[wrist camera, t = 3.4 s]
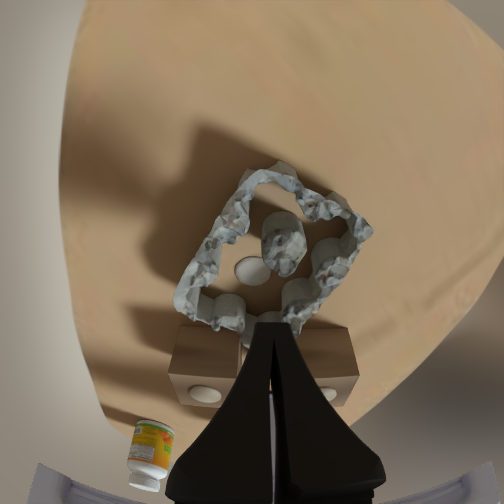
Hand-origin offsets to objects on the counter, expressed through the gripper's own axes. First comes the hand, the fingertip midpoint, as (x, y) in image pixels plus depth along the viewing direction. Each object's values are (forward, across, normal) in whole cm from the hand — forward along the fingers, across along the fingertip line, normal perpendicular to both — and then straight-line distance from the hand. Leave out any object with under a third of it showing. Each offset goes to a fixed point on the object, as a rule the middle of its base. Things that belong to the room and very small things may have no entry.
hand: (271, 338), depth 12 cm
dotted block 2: (+7, -4, +9) cm, 12 cm away
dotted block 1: (+7, +4, +9) cm, 12 cm away
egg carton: (+7, 0, 0) cm, 7 cm away
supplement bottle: (+7, +14, +29) cm, 33 cm away
